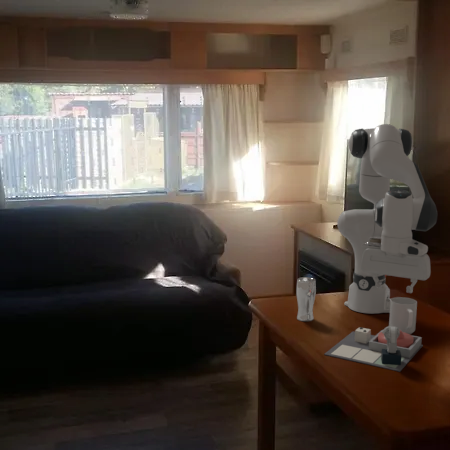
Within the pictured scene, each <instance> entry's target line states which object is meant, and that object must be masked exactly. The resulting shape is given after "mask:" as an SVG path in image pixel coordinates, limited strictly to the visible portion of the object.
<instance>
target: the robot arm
mask: <svg viewBox="0 0 450 450" xmlns="http://www.w3.org/2000/svg"><path fill="white" fill-rule="evenodd" d="M413 146H414V140H413V136H412V134H411V132H410V131H409V130H408V129H404V128H399V129H398V128H397V127H396V126H394V125H393V124H388V123H382V124H379V125H377V126H376V127H374V128H366V129H365V128H358V129H354V130H353V132H352V133H351V134H350V137H349V139H348V149H349V151H350V154H351V155H352V157H354V158H356V159H361V162H360V168H359V185H358V192H359V195H360V196H361V197H362V199H364V200H366V201H368V202H370V203H372V204H373V208H372V209H365V208H364V209H361V208H359V209H358V208H357V209H349V210H344V211H342V212H341V213H340V214H339V216H338V218H337V223H336V224H337V230H338V231H339V233H340V234H341V235H342V236H343V237H344V238H345V239H346V240H347V241H348V243H350V245H351V247H352V249H353V254H354V271H353V276H352V281H353V282H352V283H351V284H349V287H348V289H349V290H348V297H347V300H346V301H345V302H344V306H345V307H348V308H349V309H350V310H352V311H354V312H358V313H363V314H383V313H385V314H387V313H388V314H390V300H391V299H392V298H390V297H391V289H390V287H388V285H387V284H386V278H387V276H390V277H391V276H392V277H397V278H405V279H410V283H411V284H410V285H407V286H406V288H405V289H406V292H405V293H407V294H412V293H413V292H414V291H413V290H414V287H415V285H416V284H417V282H418V280H419V281H426V280H428V279H430V277H431V259H430V256H429V255H428V254H427V253H428V251H429V247H428V245H427V244H424V243H422V242H420V241H417V240H415V239H413V232H412V230H415V231H419V232H427V231H429V230H430V229H432V228H433V227H434V226H435V225H436V224H437V221H438V210H437V206H436V204H435V202H434V200H433V198H432V197H431V195H430V192H429V190H428V187H427V185H426V182H425V180H424V178H423V175H422V172H421V170H420V168H419V166H418V164H417V163H416V161H413V160H411V158H409V157H408V156H409V155H410V154H411V151H412V149H413ZM391 180H394V181H396V182H397V181H398V182H400V183H402V184H405V185H406V186H407V187H408V188H409V190H410V191H408V190H404V189H399V188H398V189H397V188H396V189H395V188H394V189H390V187H391ZM371 239H380V242H372V241H371Z"/></svg>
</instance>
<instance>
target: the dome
mask: <svg viewBox="0 0 450 450" xmlns="http://www.w3.org/2000/svg"><path fill="white" fill-rule="evenodd" d="M399 330H400V329H399ZM379 332H380V331H379ZM379 332H378V333H379ZM378 333H377V334H378ZM411 335H412V334H408V333H404V332H402V331H401V330H400V335H399V337H398V338H397V346H398V347H403V348H409V347H410V346H411V345H412V344H413V339H414V338H413V336H414V335H412V336H411ZM378 342H379V343H384V344H387V340H386V339H385V336H384V334H382V332H380V333H379V334H378Z"/></svg>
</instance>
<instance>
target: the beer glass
mask: <svg viewBox="0 0 450 450" xmlns="http://www.w3.org/2000/svg"><path fill="white" fill-rule="evenodd" d="M316 285H317V284H316V279H315V278H313V277H304V276H303V277H299V278H297V281H296V299H297V309H298V311H297V316H296V319H297V320H298V321H300V322H312V321H314V313H313V311H314V304H315V299H316V295H317V294H316V292H317V289H316V288H317V287H316Z"/></svg>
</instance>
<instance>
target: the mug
mask: <svg viewBox="0 0 450 450" xmlns="http://www.w3.org/2000/svg"><path fill="white" fill-rule="evenodd" d="M390 299H391V300H390V313H389V319H388V320H389V321H388V326H395V327H398V329H400V330H401V331H402V332H404V333H408V334H410V335H412V334H413V333H414V332H415V331H416V323H417V310H418V309H417V307H418V301H417V300H416V299H414V298H410V297H404V296H403V297H401V296H396V297H392V298H390Z"/></svg>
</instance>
